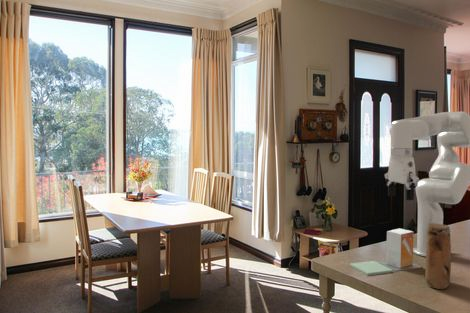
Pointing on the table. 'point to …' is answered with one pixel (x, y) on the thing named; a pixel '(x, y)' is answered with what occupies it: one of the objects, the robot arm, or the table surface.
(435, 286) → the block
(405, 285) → the table surface
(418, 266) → the slate tile
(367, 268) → the sage board
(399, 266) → the small box
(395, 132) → the robot arm
